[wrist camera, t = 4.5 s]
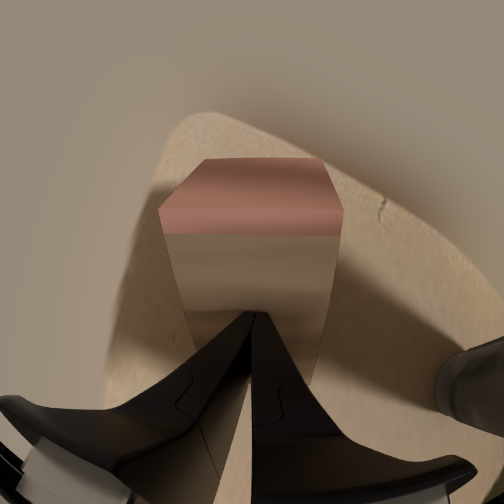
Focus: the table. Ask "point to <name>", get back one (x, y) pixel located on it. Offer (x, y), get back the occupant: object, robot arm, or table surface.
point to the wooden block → (256, 247)
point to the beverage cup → (474, 387)
